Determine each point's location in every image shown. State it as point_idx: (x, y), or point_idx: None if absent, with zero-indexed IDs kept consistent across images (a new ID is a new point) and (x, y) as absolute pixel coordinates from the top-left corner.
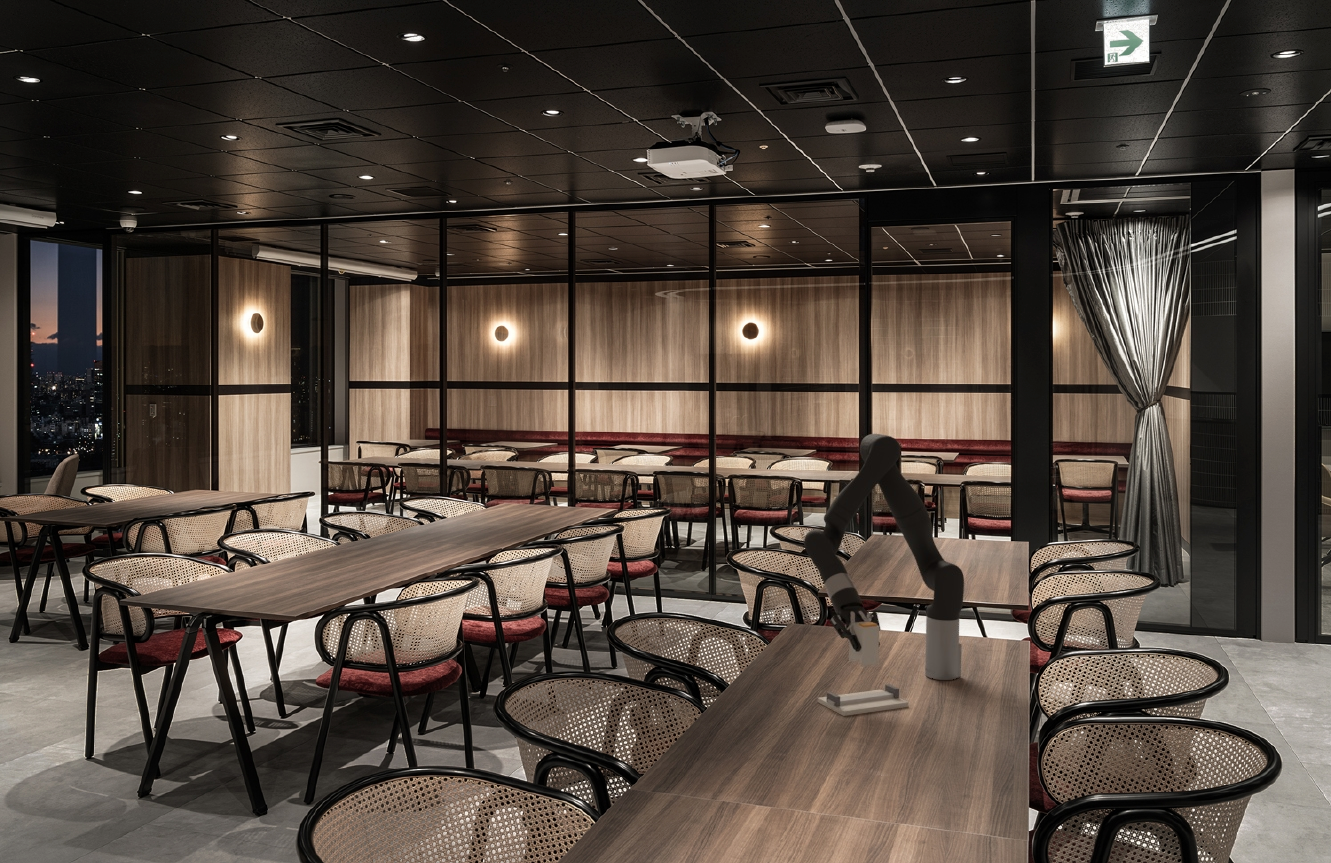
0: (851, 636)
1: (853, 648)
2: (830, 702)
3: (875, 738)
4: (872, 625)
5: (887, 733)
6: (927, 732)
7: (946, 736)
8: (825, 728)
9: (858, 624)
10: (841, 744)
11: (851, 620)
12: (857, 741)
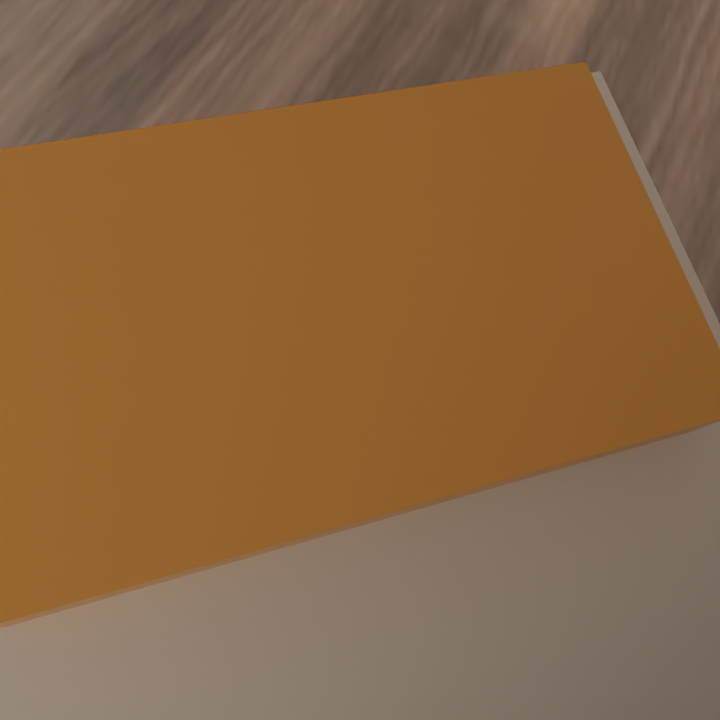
0: None
1: None
2: None
3: (421, 55)
4: (191, 146)
5: (338, 98)
6: (123, 74)
7: (55, 12)
8: None
9: (678, 566)
10: (592, 26)
11: None
12: (514, 41)
